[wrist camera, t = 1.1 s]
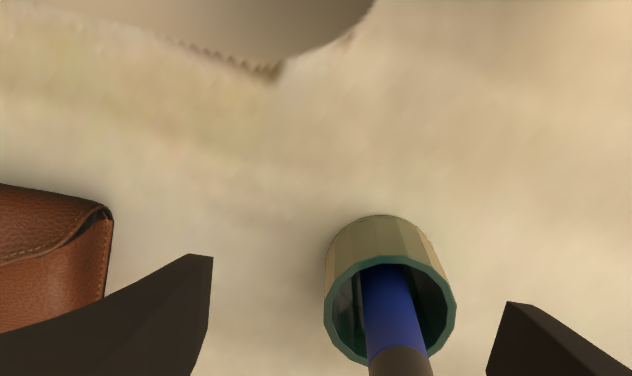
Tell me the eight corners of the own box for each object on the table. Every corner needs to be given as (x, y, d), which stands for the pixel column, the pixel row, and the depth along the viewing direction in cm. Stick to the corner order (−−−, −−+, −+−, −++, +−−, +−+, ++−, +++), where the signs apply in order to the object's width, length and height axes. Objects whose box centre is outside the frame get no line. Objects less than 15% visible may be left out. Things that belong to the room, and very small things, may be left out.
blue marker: (411, 269, 22) (454, 407, 14) (379, 295, 22) (402, 443, 14) (382, 241, 21) (409, 365, 13) (350, 268, 22) (357, 403, 14)
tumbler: (456, 267, 22) (483, 318, 18) (376, 330, 23) (384, 391, 19) (384, 192, 21) (395, 229, 17) (304, 262, 22) (296, 312, 18)
